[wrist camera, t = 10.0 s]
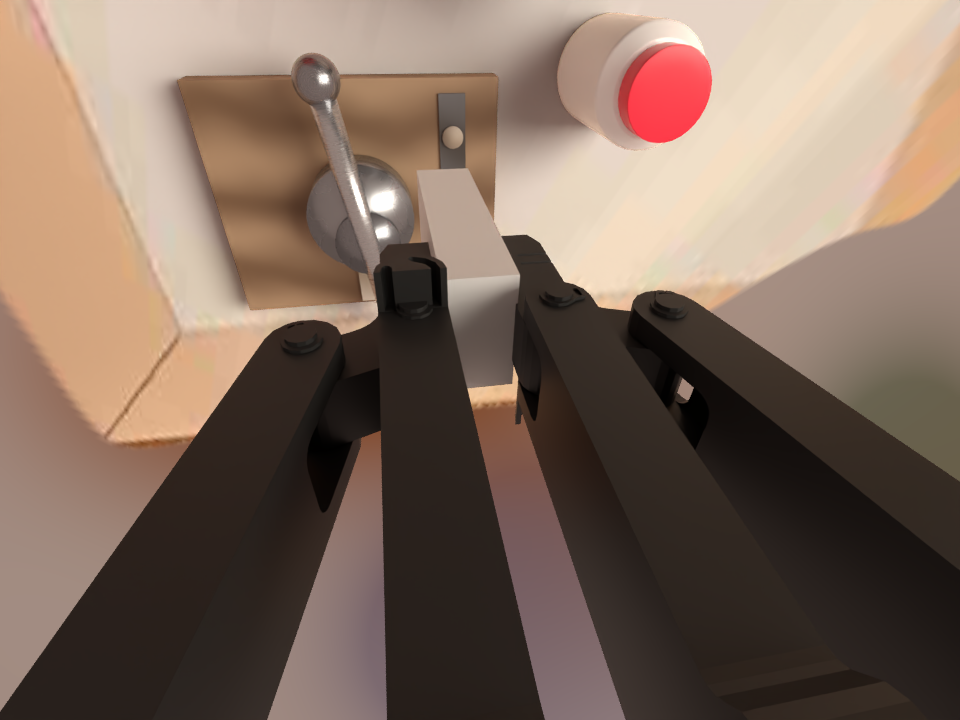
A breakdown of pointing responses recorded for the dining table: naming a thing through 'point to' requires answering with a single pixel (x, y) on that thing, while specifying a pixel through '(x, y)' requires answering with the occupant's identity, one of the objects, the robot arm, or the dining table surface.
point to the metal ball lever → (349, 181)
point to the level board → (301, 156)
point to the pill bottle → (634, 78)
